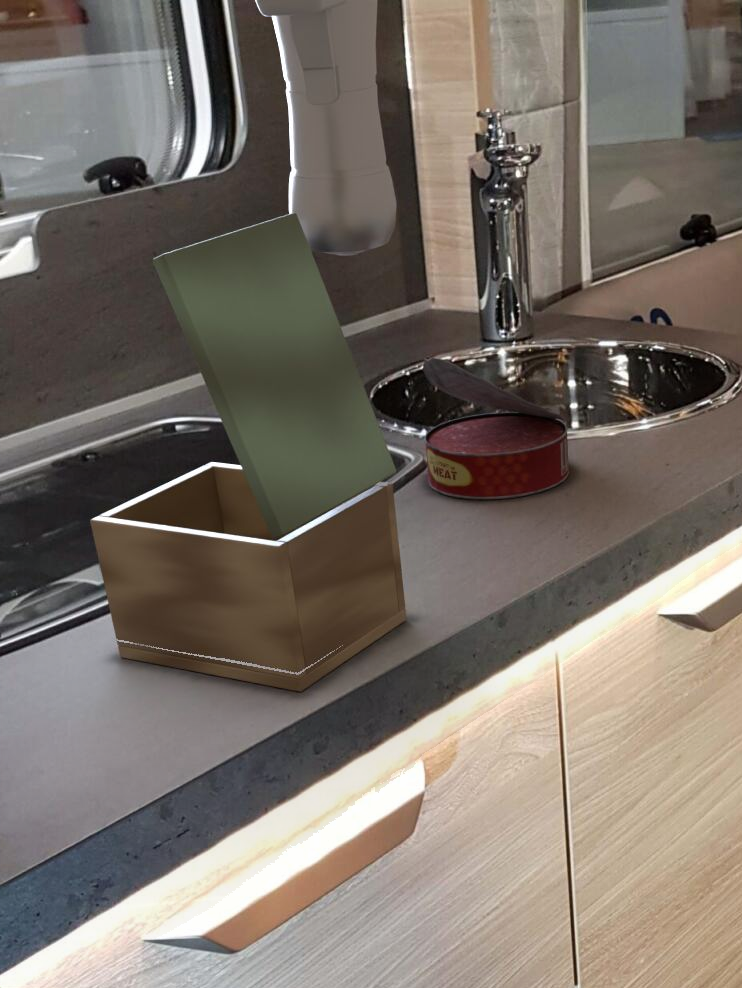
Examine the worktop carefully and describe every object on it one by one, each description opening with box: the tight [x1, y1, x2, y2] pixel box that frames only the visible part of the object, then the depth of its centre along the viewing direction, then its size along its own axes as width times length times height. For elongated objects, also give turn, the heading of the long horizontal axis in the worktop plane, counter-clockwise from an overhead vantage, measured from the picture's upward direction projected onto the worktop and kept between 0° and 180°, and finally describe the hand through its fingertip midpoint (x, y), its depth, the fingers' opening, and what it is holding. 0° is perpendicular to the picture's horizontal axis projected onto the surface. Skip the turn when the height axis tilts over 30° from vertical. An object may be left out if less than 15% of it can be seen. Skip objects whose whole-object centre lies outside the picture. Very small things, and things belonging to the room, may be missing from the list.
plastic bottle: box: [271, 0, 397, 257], centre depth 91 cm, size 6×7×20 cm
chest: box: [89, 461, 408, 692], centre depth 84 cm, size 12×10×8 cm
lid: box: [152, 213, 397, 539], centre depth 76 cm, size 13×10×1 cm
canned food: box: [422, 357, 570, 500], centre depth 106 cm, size 11×10×10 cm
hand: (336, 96), depth 92 cm, fingers closed on plastic bottle, 6 cm apart
